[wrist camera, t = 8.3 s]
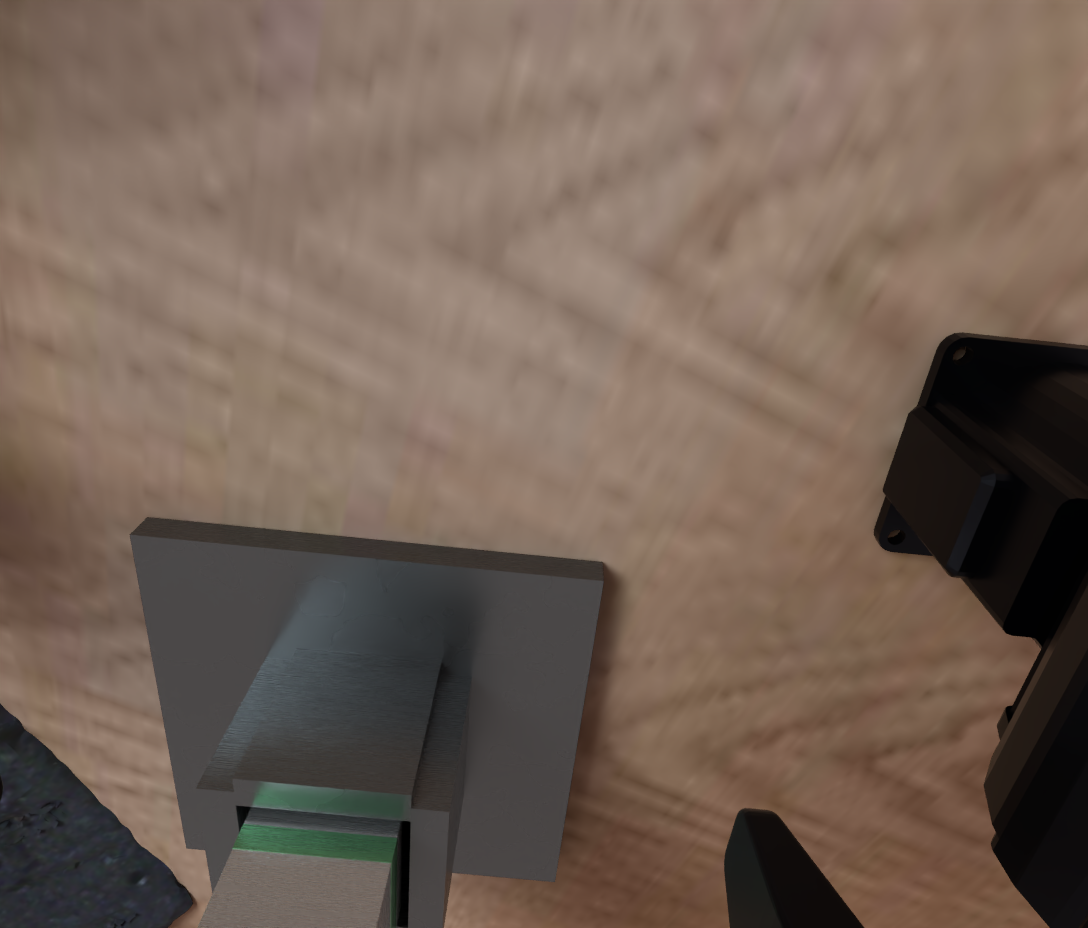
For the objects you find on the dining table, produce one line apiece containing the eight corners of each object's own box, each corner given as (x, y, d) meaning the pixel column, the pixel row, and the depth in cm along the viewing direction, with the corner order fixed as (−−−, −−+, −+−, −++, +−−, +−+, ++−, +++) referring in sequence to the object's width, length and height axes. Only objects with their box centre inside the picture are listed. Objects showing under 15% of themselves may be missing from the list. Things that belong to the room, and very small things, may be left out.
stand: (602, 562, 23) (613, 706, 17) (555, 857, 29) (552, 1030, 24) (147, 517, 23) (15, 648, 17) (198, 824, 29) (113, 991, 23)
